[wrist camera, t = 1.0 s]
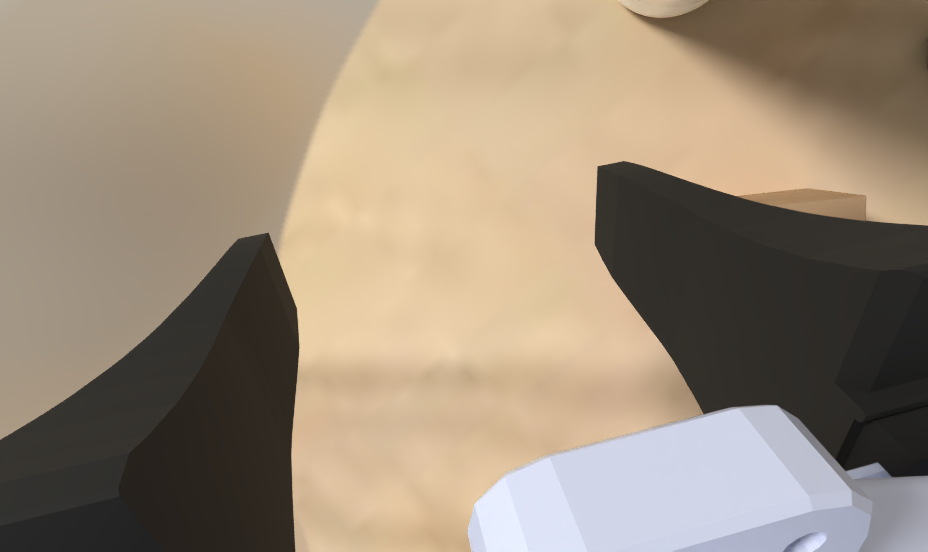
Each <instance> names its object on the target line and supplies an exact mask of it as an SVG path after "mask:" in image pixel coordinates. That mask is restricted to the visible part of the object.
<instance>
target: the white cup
mask: <svg viewBox="0 0 928 552" xmlns="http://www.w3.org/2000/svg"><path fill="white" fill-rule="evenodd" d="M618 1H619V2H620V3H621V4H622V5H624V6H625V7H626V8H628V9H630V10H631V11H633V12H635V13H638V14H641V15H644V16H648V17H655V18H667V17H674V16H679V15H682V14H686V13H688V12H691V11H693V10H695V9H697V8H699V7H700V6H702V5H703V4H705V3H706V2H708V1H709V0H618Z"/></svg>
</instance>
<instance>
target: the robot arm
mask: <svg viewBox="0 0 928 552" xmlns="http://www.w3.org/2000/svg"><path fill="white" fill-rule="evenodd" d="M595 246H596V248H597V250H598V252H599V254H600V256H601V258H602V260H603V262H604V263H605V265H606V267H607V269H608V271H609V272H610V274H611V276H612V278H613V279H614V281H615V282H616V283H617V285H618V286H619V287H620V289H621V290H622V292H623V293H624V294H625V296H626V297H627V298H628V300H629V301H630V302H631V304H632V305H633V306H634V308H635V309H636V310H637V312H638V313H639V314H640V316H641V317H642V318H643V320H644V321H645V322H646V324H647V325H648V326H649V327H650V329H651V330H652V331H653V333H654V334H655V335H656V337H657V338H658V339H659V341H660V342H661V343H662V345H663V346H664V348H665V349H666V351H667V352H668V353H669V355H670V356H671V358H672V359H673V361H674V362H675V364H676V366H677V368H678V369H679V371H680V373H681V374H682V376H683V378H684V380H685V381H686V383H687V385H688V386H689V388H690V390H691V392H692V393H693V395H694V397H695V399H696V400H697V402H698V404H699V406H700V408H701V410H702V412H703V413H704V415H700V416H696V417H692V418H688V419H684V420H680V421H676V422H673V423H669V424H665V425H661V426H657V427H653V428H649V429H646V430H642V431H638V432H634V433H630V434H626V435H622V436H618V437H615V438H611V439H607V440H603V441H599V442H595V443H591V444H588V445H584V446H580V447H576V448H572V449H568V450H564V451H560V452H557V453H553V454H549V455H546V456H543V457H541V458H539V459H536V460H534V461H532V462H529V463H527V464H525V465H522V466H520V467H518V468H515V469H513V470H511V471H508V472H507V473H506V474H505V475H503V476H502V477H501V478H500V479H499V480H498V481H497V482H496V483H495V484H494V485H493V486H492V487H491V488H489V489H488V490H487V491H486V492H485V493H484V494H483V495H482V496H481V497H480V498H479V499H478V501H477V502H476V503H475V505H474V509H473V513H472V516H471V520H470V524H469V528H468V537H469V542H470V547H471V552H928V226H924V225H909V224H894V223H882V222H871V221H861V220H853V219H846V218H839V217H831V216H824V215H818V214H812V213H806V212H800V211H795V210H791V209H786V208H781V207H776V206H771V205H767V204H763V203H759V202H755V201H751V200H747V199H744V198H740V197H737V196H733V195H730V194H726V193H723V192H720V191H716V190H713V189H710V188H707V187H704V186H701V185H698V184H695V183H692V182H689V181H686V180H683V179H680V178H677V177H674V176H672V175H669V174H666V173H663V172H660V171H657V170H654V169H651V168H648V167H645V166H641V165H638V164H634V163H630V162H625V161H622V162H617V163H613V164H608V165H603V166H598V169H597V196H596V222H595ZM298 358H299V333H298V319H297V308H296V305H295V303H294V300H293V297H292V295H291V292H290V289H289V286H288V284H287V281H286V278H285V276H284V273H283V270H282V268H281V265H280V262H279V260H278V257H277V254H276V252H275V249H274V246H273V243H272V241H271V238H270V235H269V233H265V234H260V235H255V236H250V237H245V238H241V239H238V240H237V241H236V242H235V243H234V244H233V245H232V246H231V247H230V248H229V250H228V251H227V252H226V253H225V254H224V255H223V257H222V258H221V259H220V260H219V261H218V263H217V264H216V265H215V266H214V267H213V269H212V270H211V271H210V272H209V273H208V274H207V276H206V277H205V278H204V279H203V280H202V281H201V282H200V283H199V285H198V286H197V287H196V288H195V289H194V290H193V291H192V293H191V294H190V295H189V296H188V297H187V298H186V299H185V300H184V301H183V302H182V303H181V304H180V305H179V306H178V307H177V308H176V309H175V310H174V311H173V312H172V313H171V314H170V315H169V316H168V318H167V319H165V321H164V322H163V323H162V324H161V325H160V326H158V328H156V330H154V331H153V332H152V333H151V334H150V335H149V336H148V337H147V338H146V339H145V340H143V341H142V342H141V343H140V344H139V345H137V346H136V347H135V348H134V349H133V350H131V351H130V352H129V353H128V354H127V355H126V356H124V357H123V358H122V359H121V360H119V361H118V362H117V363H116V364H114V365H113V366H112V367H110V368H109V369H108V370H106V371H105V372H103V373H102V374H101V375H99V376H98V377H97V378H96V379H94V380H93V381H91V382H90V383H88V384H87V385H86V386H84V387H83V388H81V389H80V390H79V391H77V392H76V393H75V394H73V395H72V396H70V397H69V398H67V399H66V400H64V401H63V402H61V403H60V404H58V405H57V406H55V407H54V408H52V409H51V410H49V411H47V412H46V413H44V414H43V415H41V416H39V417H38V418H36V419H35V420H33V421H31V422H30V423H28V424H26V425H25V426H23V427H21V428H20V429H18V430H16V431H15V432H13V433H11V434H10V435H8V436H6V437H4V438H3V439H1V440H0V552H295V539H294V518H293V498H292V465H291V447H292V429H293V417H294V406H295V394H296V383H297V371H298Z"/></svg>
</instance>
